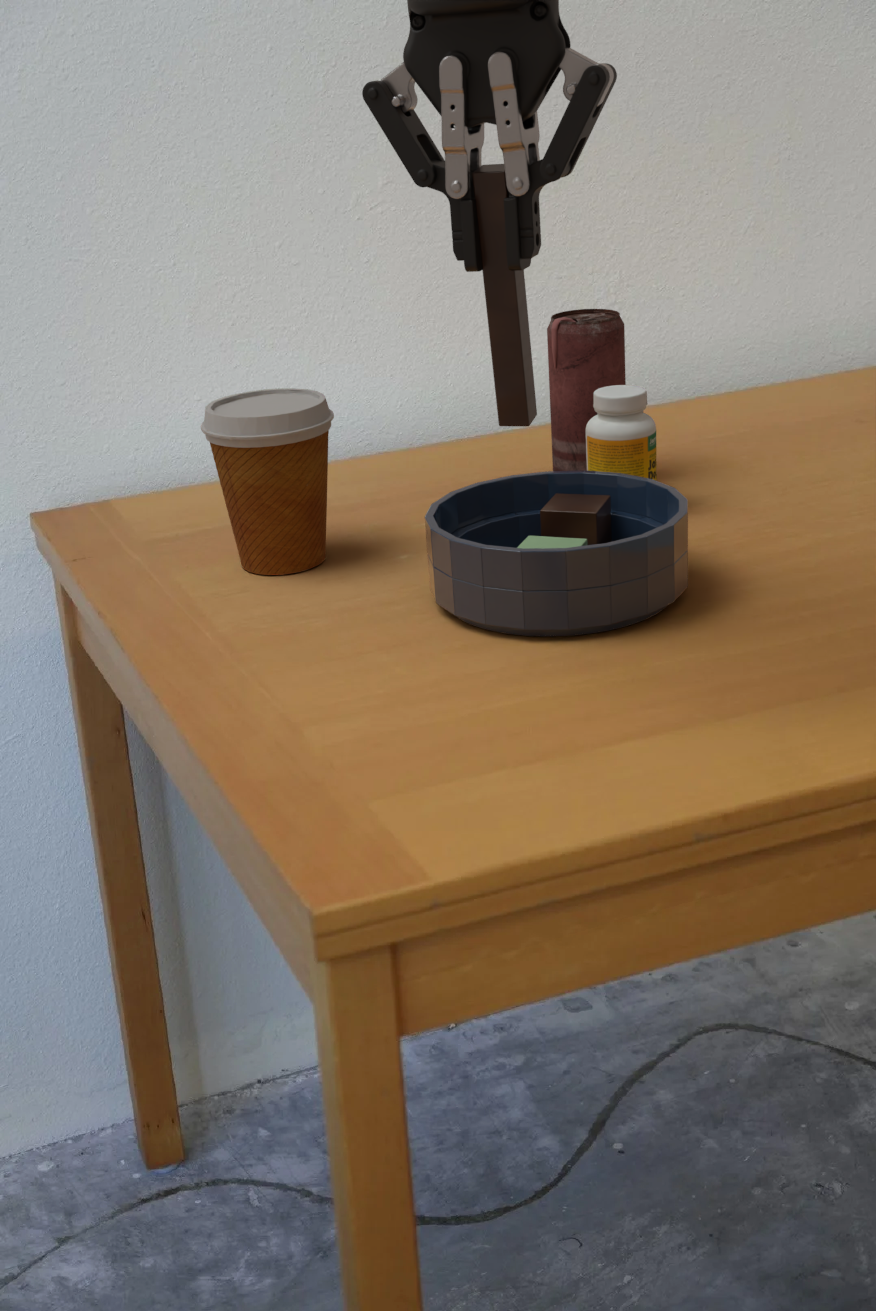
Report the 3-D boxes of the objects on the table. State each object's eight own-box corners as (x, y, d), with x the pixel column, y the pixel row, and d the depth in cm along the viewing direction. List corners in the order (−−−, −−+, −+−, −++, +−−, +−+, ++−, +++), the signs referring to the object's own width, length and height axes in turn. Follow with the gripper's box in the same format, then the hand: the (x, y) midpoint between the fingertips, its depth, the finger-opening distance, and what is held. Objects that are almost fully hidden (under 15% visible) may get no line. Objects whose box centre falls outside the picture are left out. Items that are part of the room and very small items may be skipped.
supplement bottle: (585, 503, 118) (581, 384, 114) (653, 499, 117) (651, 379, 114) (590, 525, 113) (587, 401, 109) (661, 520, 112) (659, 396, 109)
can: (536, 487, 123) (528, 317, 117) (588, 469, 126) (583, 303, 121) (590, 499, 118) (584, 324, 113) (642, 480, 122) (639, 310, 117)
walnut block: (612, 549, 105) (610, 495, 103) (598, 568, 101) (596, 512, 100) (557, 546, 106) (555, 493, 105) (542, 565, 103) (539, 510, 101)
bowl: (741, 601, 96) (742, 513, 94) (510, 664, 89) (505, 570, 87) (598, 534, 110) (596, 456, 108) (390, 584, 104) (383, 502, 101)
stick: (537, 414, 84) (514, 162, 77) (529, 427, 83) (504, 170, 76) (507, 414, 85) (481, 164, 78) (498, 426, 83) (471, 172, 76)
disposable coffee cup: (326, 532, 115) (311, 380, 111) (363, 568, 107) (348, 405, 102) (207, 554, 113) (186, 399, 108) (235, 592, 104) (214, 426, 100)
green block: (589, 596, 97) (587, 538, 95) (571, 618, 93) (569, 559, 92) (531, 592, 98) (528, 535, 96) (511, 614, 95) (508, 555, 93)
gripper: (316, -84, 71) (352, 284, 78) (597, -116, 66) (609, 277, 73) (373, -78, 77) (402, 261, 84) (632, -107, 73) (641, 254, 79)
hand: (498, 267), depth 78 cm, fingers closed on stick, 2 cm apart
